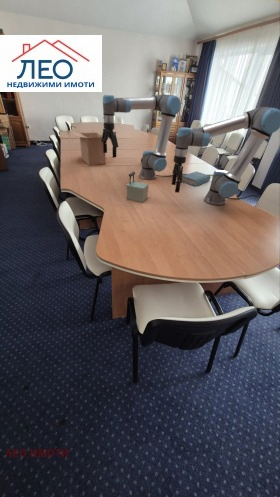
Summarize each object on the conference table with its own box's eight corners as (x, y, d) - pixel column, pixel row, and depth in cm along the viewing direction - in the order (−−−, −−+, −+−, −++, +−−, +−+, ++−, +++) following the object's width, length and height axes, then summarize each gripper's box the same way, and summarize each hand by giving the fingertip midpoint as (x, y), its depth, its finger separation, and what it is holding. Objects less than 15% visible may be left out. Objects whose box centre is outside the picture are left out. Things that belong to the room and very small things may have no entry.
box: (116, 165, 229) (116, 136, 213) (83, 168, 214) (80, 137, 198) (102, 154, 259) (101, 128, 243) (71, 156, 244) (68, 129, 228)
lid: (126, 186, 159) (126, 174, 154) (131, 181, 166) (132, 170, 161) (143, 189, 155) (144, 177, 150) (148, 185, 163) (149, 173, 158)
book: (195, 176, 216) (196, 171, 213) (209, 181, 207) (210, 176, 204) (181, 181, 202) (182, 175, 199) (195, 186, 194) (197, 180, 191)
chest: (126, 198, 164) (127, 186, 159) (132, 194, 172) (132, 182, 166) (142, 202, 161) (143, 189, 155) (147, 197, 168) (148, 185, 163)
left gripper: (95, 119, 157) (97, 151, 170) (113, 125, 141) (114, 159, 154) (105, 119, 161) (105, 150, 173) (123, 125, 145) (123, 158, 158)
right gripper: (171, 150, 148) (167, 181, 160) (178, 160, 128) (172, 195, 140) (182, 151, 148) (177, 182, 161) (190, 161, 128) (184, 195, 141)
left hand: (109, 155), depth 164 cm, fingers open, 13 cm apart
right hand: (175, 188), depth 151 cm, fingers open, 13 cm apart
